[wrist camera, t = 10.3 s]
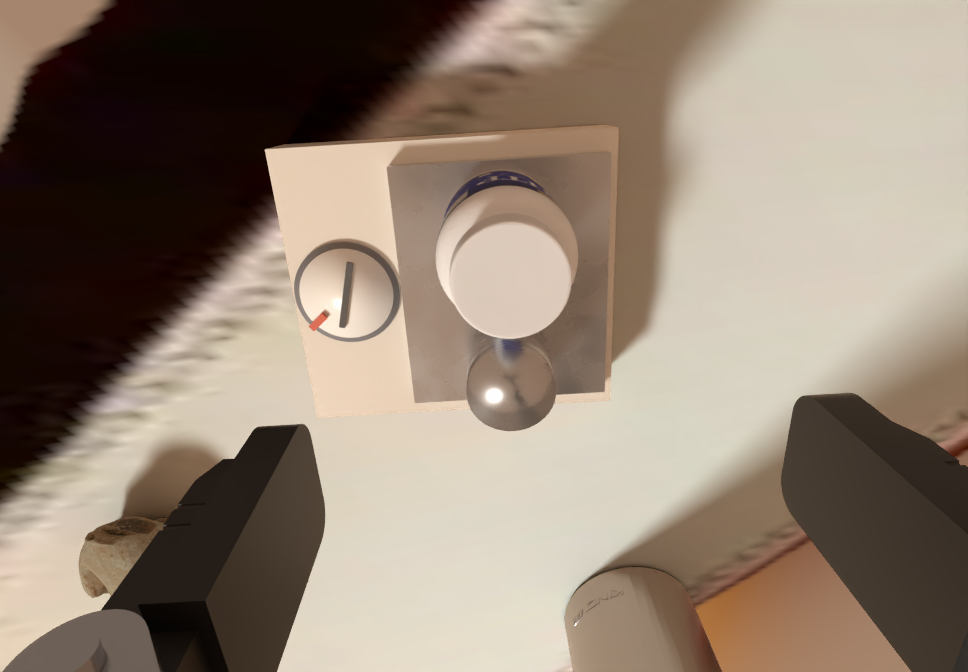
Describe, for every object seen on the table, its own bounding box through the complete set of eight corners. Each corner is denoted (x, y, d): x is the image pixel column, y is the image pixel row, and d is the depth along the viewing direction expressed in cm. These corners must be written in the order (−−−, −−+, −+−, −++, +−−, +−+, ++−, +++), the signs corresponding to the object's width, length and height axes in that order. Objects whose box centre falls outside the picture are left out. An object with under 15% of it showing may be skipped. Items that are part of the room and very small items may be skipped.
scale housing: (604, 124, 28) (621, 127, 25) (599, 375, 34) (612, 404, 30) (285, 144, 28) (260, 150, 25) (330, 391, 34) (315, 422, 31)
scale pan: (607, 151, 26) (611, 152, 25) (601, 384, 30) (604, 391, 30) (388, 164, 26) (386, 166, 25) (416, 395, 31) (414, 403, 30)
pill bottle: (576, 194, 26) (624, 238, 18) (530, 296, 28) (554, 379, 19) (466, 149, 25) (463, 173, 17) (427, 257, 27) (407, 327, 19)
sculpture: (261, 636, 43) (193, 485, 36) (235, 702, 39) (152, 544, 32) (171, 641, 43) (87, 492, 37) (136, 706, 39) (33, 552, 32)
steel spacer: (563, 350, 29) (575, 387, 25) (510, 403, 30) (514, 446, 26) (504, 302, 28) (507, 333, 24) (452, 358, 29) (447, 396, 25)
